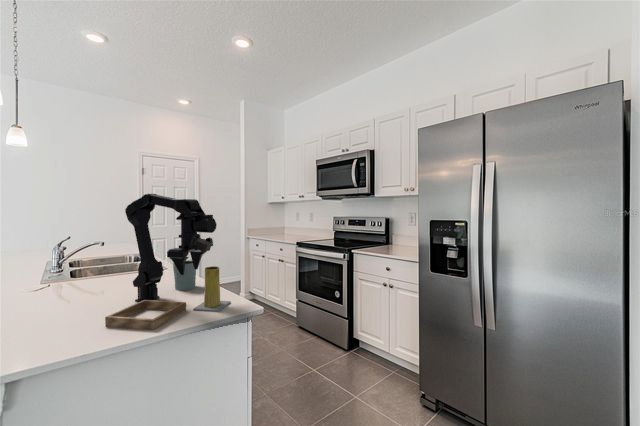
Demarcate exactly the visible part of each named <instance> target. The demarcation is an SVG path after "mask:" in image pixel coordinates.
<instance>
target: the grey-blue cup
mask: <svg viewBox="0 0 640 426" xmlns="http://www.w3.org/2000/svg"><path fill="white" fill-rule="evenodd" d="M172 268H173V277H174V288H175V290H176V291H190V290H193V289H195V288H196V275H197V270H196V269H194V266H193V262H192V259H190V260H188V259H187V260H186V261H185V271H184V275H180V273H179V271H178V269H177V267H176V266H175V264H174V263H172Z"/></svg>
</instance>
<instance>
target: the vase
mask: <svg viewBox="0 0 640 426" xmlns="http://www.w3.org/2000/svg"><path fill="white" fill-rule="evenodd" d="M220 301H221V285H220V267H219V266H215V265H214V266H206V267H205V268H204V298H203V302H204V306H205V307H216V306H219V305H220V304H221V302H220Z"/></svg>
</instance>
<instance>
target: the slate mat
mask: <svg viewBox="0 0 640 426" xmlns="http://www.w3.org/2000/svg"><path fill="white" fill-rule="evenodd" d="M220 302H221V304H220V305H219V306H216V307H205V306H204V301H203V302H201V303H199V304H198V305H197V306H195V307H193V309H192V311H198V312H199V311H200V312H214V313H216V312H217V313H218V312H221V310H223V309H224V308H225V307H227V306H228V305H230V304H231V301H230V300H220Z"/></svg>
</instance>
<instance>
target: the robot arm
mask: <svg viewBox="0 0 640 426" xmlns="http://www.w3.org/2000/svg"><path fill="white" fill-rule="evenodd" d="M156 206H159V207H164V208H168V209H172V210H174V211H175V212H177V213H178V214H179V215H178V216H177V217H176V218H175V220H177V221H180V234H178V238H180V245H178V247H174V248H169V249H168V250H167V251H166V256H167V258H169V260H171V261H172V262H173V263H174V264H175V266H176V267H177V269H178V271H179V273H180V275H184V271H185V261H188V259H189V253H190V257H191V260H192V262H193V266H194V269H196V271H198V269H199V266H200V264H201V263H200V262H201V259H202V256H203V255H205V254H206V253H207V252H210V250H211V248H212V247H213V246H214V240H213V238H212V237H207V238H206V239H205V238H202V237H201V235H200V233H209V234H211V233H214V232H215V231H216V229H217V222H216V220H215V218H214V215H213V214H206V212H205V211H204V210H203V208H202V206H201V205H200V202H199V200H197V199H194V198H186V199H185V198H180V199H178V198H174V197H170V196H164V195H160V194H157V193H145V194H143V195H142V196H141V197H139V198H138V199H135V200H134V201H131V202H130V204H127V206H126V208H125V210H124V212H125V216H126V218H127V220H128V222H129V223H130V224H131V225H132V226H133V228H134V233H135V239H136V243H137V248H138V249H137V250H138V252H139V258H140V263H139V265H138V270H137V274H138V275H137V276H136V277H135V278H134V279H133V280H132V285H133V287H135V288H137V298H136V299H135V300H134V302H136V303H138V302H140V301H143V300H157V299H159V298H160V295H159V292H158V290H159V289H158V285H157V283H161V279H162V277H163V275H164V271H165V269H164V268H163V262H162V261H159V260H158V259H156V257H155V252H154V248H153V243H152V238H151V232H150V227H149V223H150V220H151V212H153V211H154V210H155V208H156ZM173 263H172V264H173Z"/></svg>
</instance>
